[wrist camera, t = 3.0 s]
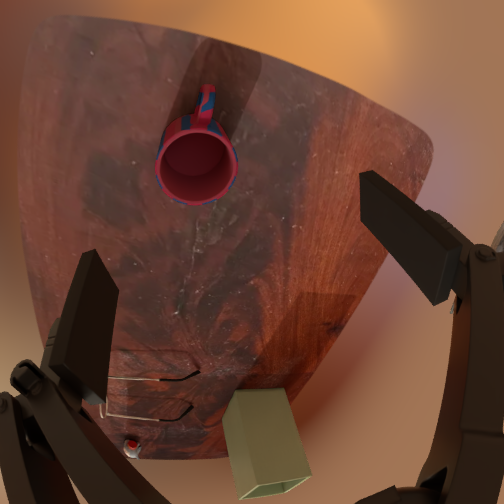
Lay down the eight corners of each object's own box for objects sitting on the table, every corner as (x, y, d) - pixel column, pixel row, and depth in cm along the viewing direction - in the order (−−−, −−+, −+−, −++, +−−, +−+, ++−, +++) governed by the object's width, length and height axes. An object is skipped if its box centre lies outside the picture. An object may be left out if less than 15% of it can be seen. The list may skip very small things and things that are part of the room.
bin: (235, 389, 56) (257, 485, 40) (283, 387, 60) (312, 475, 44) (221, 418, 63) (238, 499, 47) (264, 416, 66) (285, 492, 50)
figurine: (143, 449, 68) (127, 451, 67) (137, 433, 65) (120, 434, 64) (145, 464, 64) (128, 465, 62) (139, 448, 61) (121, 449, 60)
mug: (153, 169, 30) (147, 197, 25) (179, 74, 26) (178, 78, 20) (215, 182, 33) (224, 212, 27) (246, 92, 28) (263, 101, 22)
